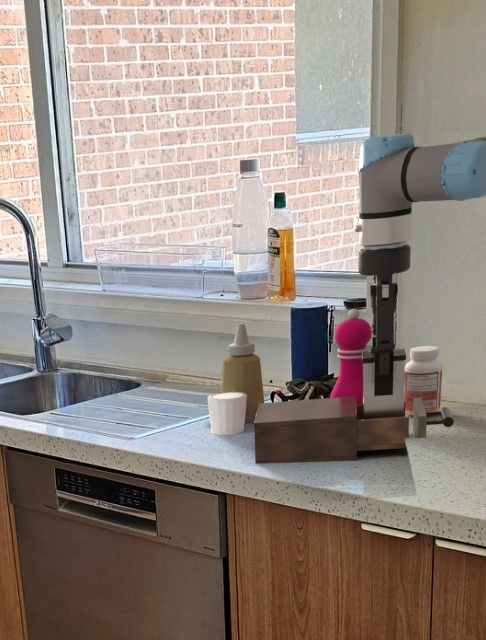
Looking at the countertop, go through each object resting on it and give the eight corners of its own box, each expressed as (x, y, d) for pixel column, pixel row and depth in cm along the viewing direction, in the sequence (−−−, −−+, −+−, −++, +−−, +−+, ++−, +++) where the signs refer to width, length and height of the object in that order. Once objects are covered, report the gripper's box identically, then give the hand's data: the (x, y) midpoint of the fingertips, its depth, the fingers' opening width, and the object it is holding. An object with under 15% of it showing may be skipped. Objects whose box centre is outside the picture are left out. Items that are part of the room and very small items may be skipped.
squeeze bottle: (269, 418, 226) (270, 319, 219) (256, 428, 220) (256, 327, 213) (227, 417, 230) (226, 320, 223) (213, 428, 224) (212, 328, 217)
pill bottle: (414, 407, 219) (417, 344, 214) (446, 409, 214) (450, 345, 210) (395, 414, 215) (398, 350, 211) (428, 417, 211) (432, 352, 206)
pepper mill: (329, 433, 209) (332, 313, 201) (327, 423, 216) (330, 307, 208) (373, 431, 208) (378, 310, 199) (370, 421, 214) (375, 304, 206)
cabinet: (355, 438, 205) (355, 396, 202) (356, 460, 192) (356, 415, 189) (260, 444, 210) (259, 403, 207) (255, 466, 197) (253, 423, 194)
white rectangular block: (403, 429, 198) (404, 348, 193) (404, 437, 193) (406, 354, 188) (361, 432, 200) (361, 352, 195) (362, 440, 195) (362, 358, 190)
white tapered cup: (206, 439, 217) (205, 400, 214) (210, 430, 223) (209, 392, 220) (245, 438, 215) (245, 398, 212) (248, 429, 221) (248, 390, 218)
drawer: (448, 427, 199) (449, 395, 197) (455, 448, 188) (456, 414, 186) (328, 435, 205) (328, 404, 203) (328, 455, 194) (328, 422, 192)
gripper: (357, 239, 197) (356, 371, 205) (359, 258, 175) (358, 404, 184) (406, 234, 194) (403, 368, 203) (415, 252, 173) (411, 401, 182)
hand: (382, 386), depth 193 cm, fingers open, 13 cm apart
